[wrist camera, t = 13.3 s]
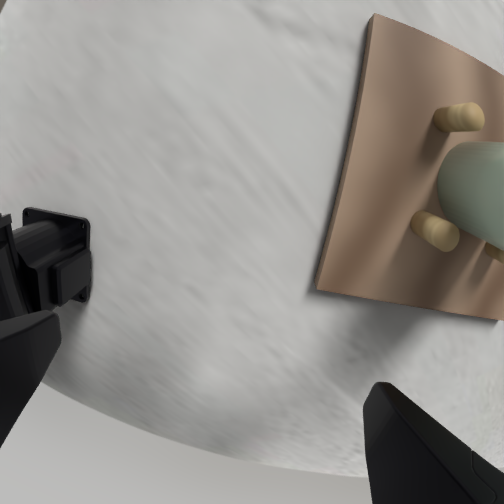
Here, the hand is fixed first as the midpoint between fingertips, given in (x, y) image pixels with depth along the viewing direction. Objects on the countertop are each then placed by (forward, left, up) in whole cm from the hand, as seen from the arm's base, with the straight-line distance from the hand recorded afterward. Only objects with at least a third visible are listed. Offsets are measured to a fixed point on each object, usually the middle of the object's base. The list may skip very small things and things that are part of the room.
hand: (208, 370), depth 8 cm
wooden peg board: (+14, +7, -13) cm, 20 cm away
